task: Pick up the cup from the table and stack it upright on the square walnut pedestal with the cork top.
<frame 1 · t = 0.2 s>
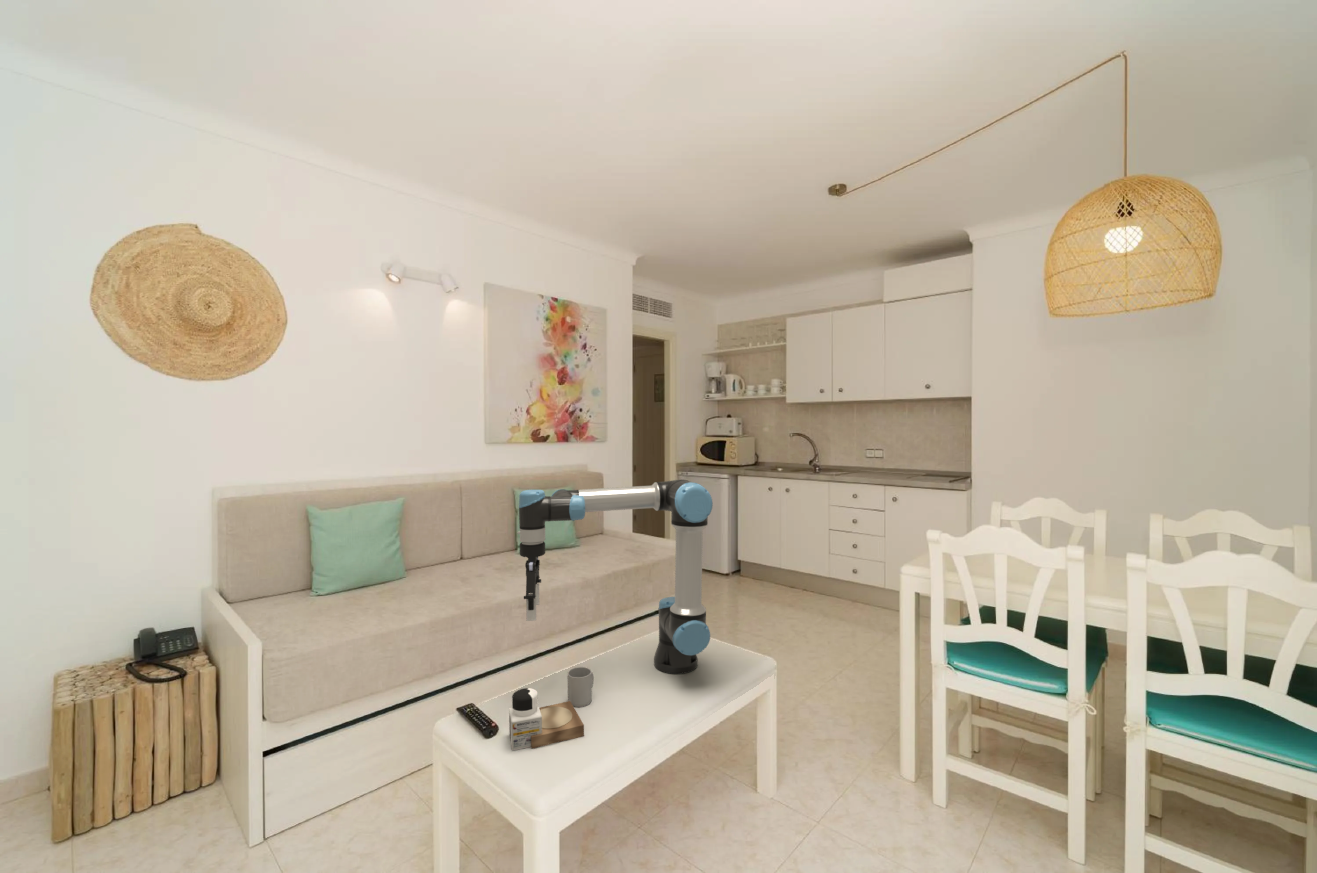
hand: (533, 612, 167), 27 cm above the table, fingers open, 13 cm apart
container: (525, 741, 147), on the table, touching pedestal
pedestal: (552, 728, 153), on the table
cup: (582, 700, 169), on the table
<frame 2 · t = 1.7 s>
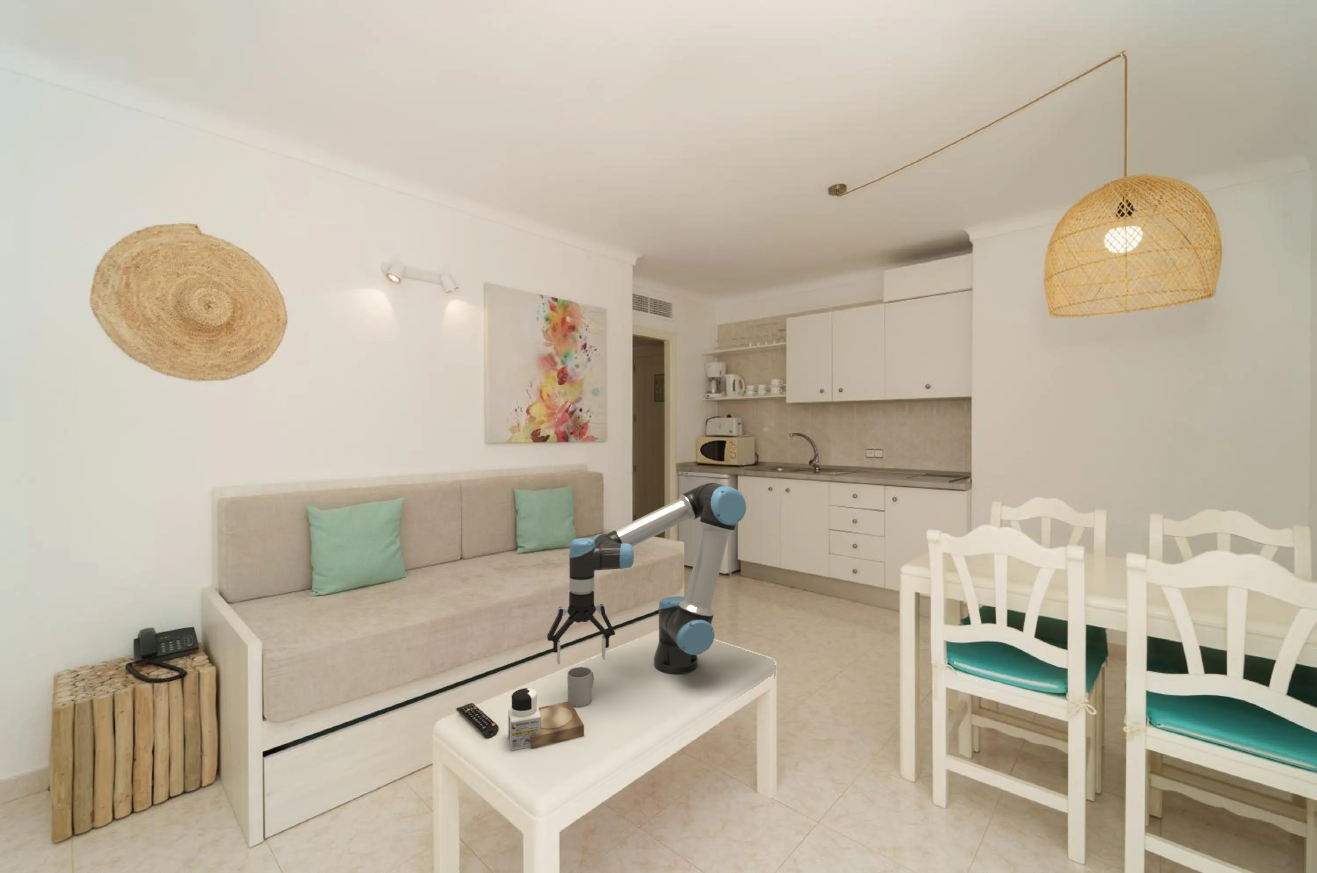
hand: (581, 660, 168), 12 cm above the table, fingers open, 13 cm apart
nothing on the table moved.
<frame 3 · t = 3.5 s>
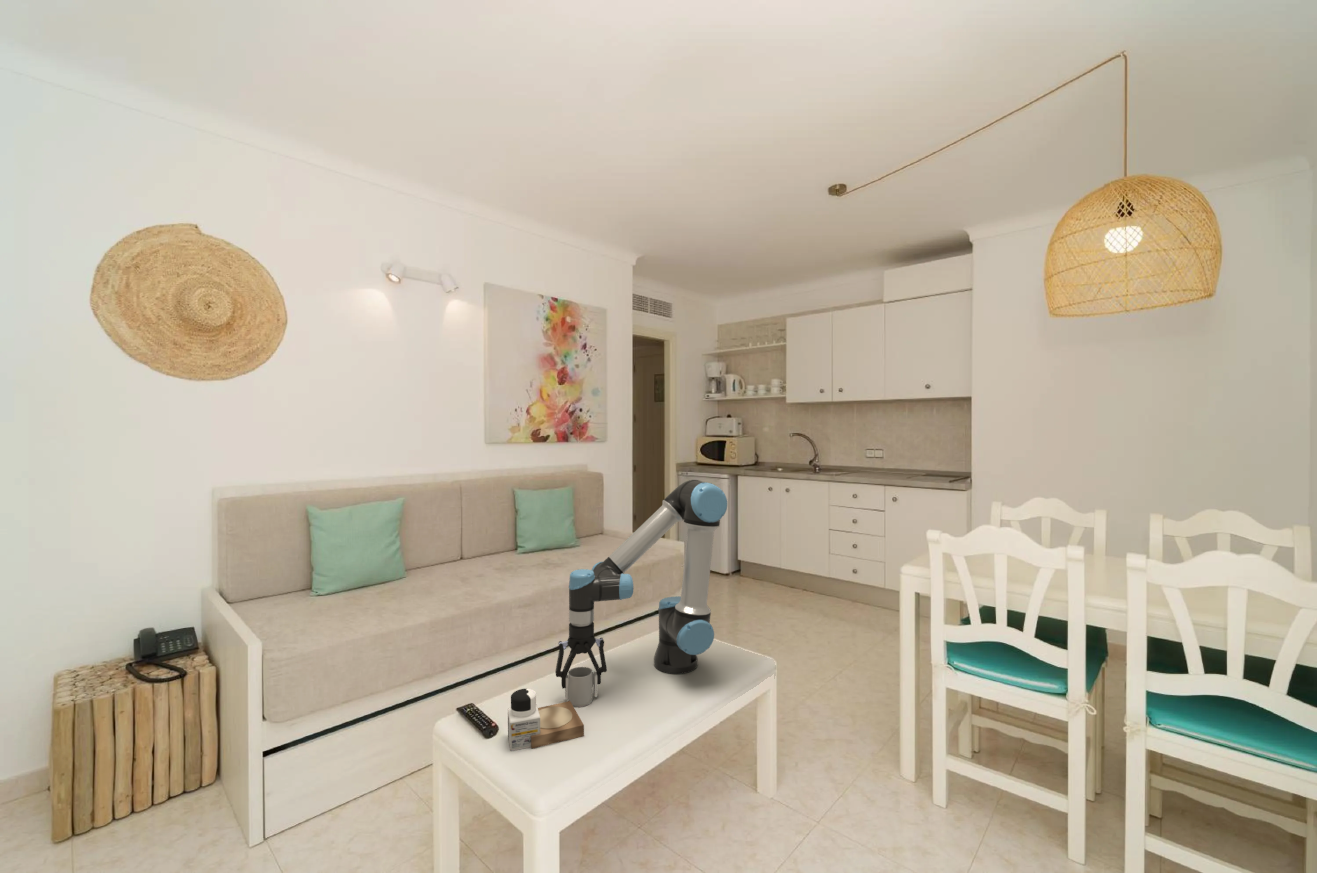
hand: (581, 696, 169), 1 cm above the table, fingers closed on cup, 8 cm apart
cup: (583, 700, 169), on the table, touching gripper
everything else where it was.
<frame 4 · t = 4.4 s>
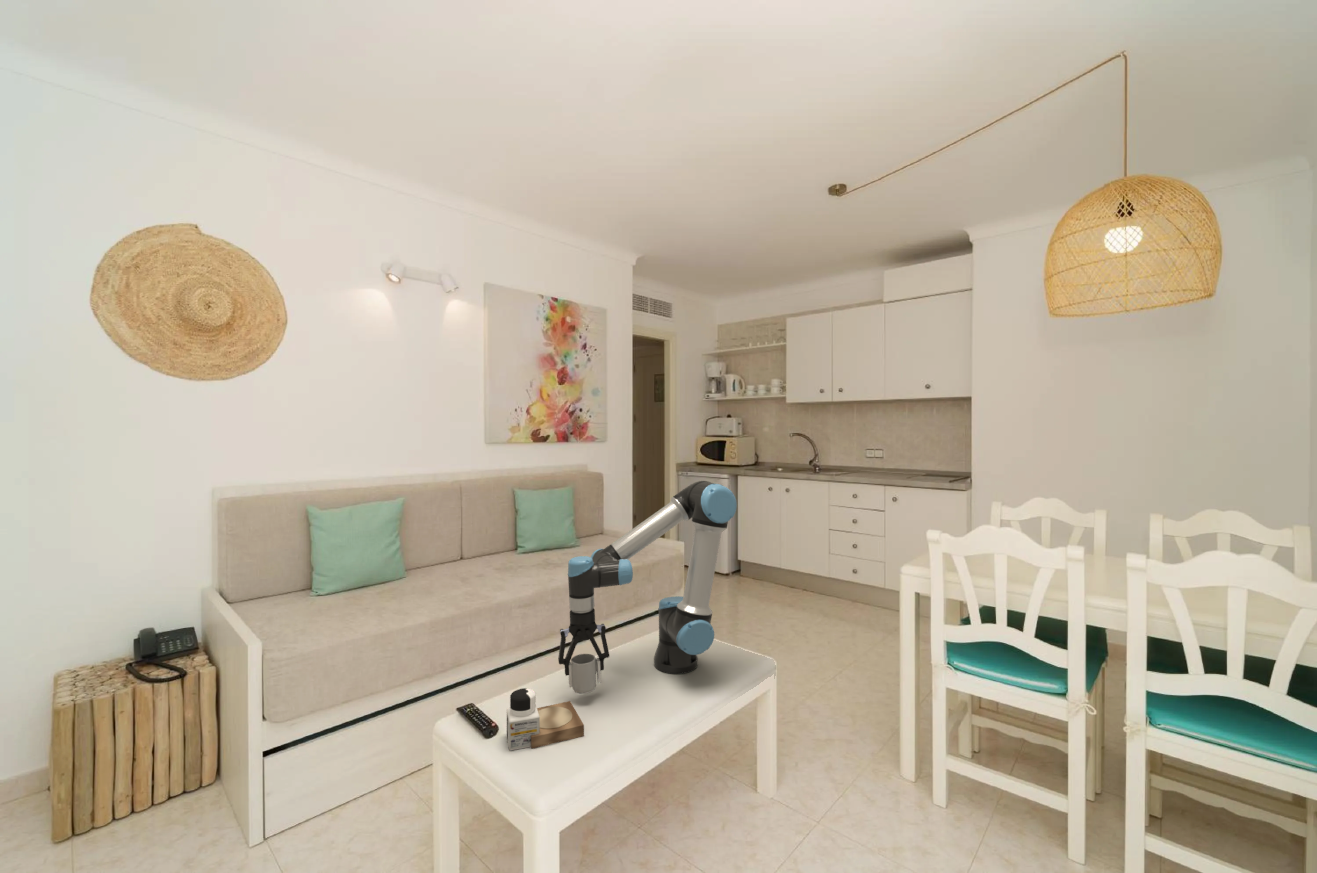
hand: (584, 682, 169), 5 cm above the table, fingers closed on cup, 8 cm apart
cup: (587, 686, 169), point 4 cm above the table, touching gripper
everything else where it was.
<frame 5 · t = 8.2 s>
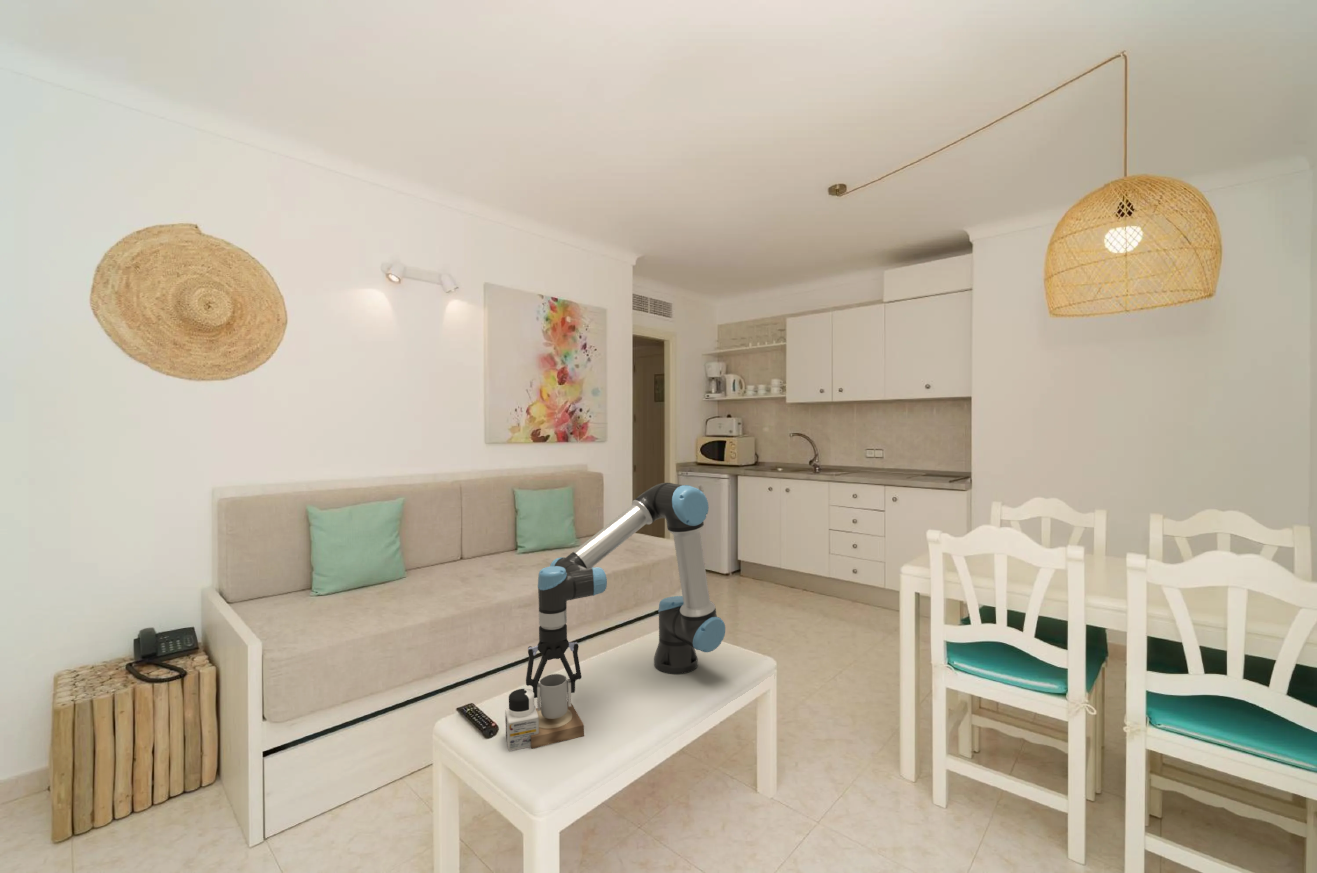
hand: (554, 706, 153), 6 cm above the table, fingers closed on cup, 8 cm apart
cup: (557, 710, 153), point 5 cm above the table, touching gripper
everything else where it was.
when the fingers open (6 cm above the table, at t = 9.1 s): cup moves 1 cm, resting on pedestal.
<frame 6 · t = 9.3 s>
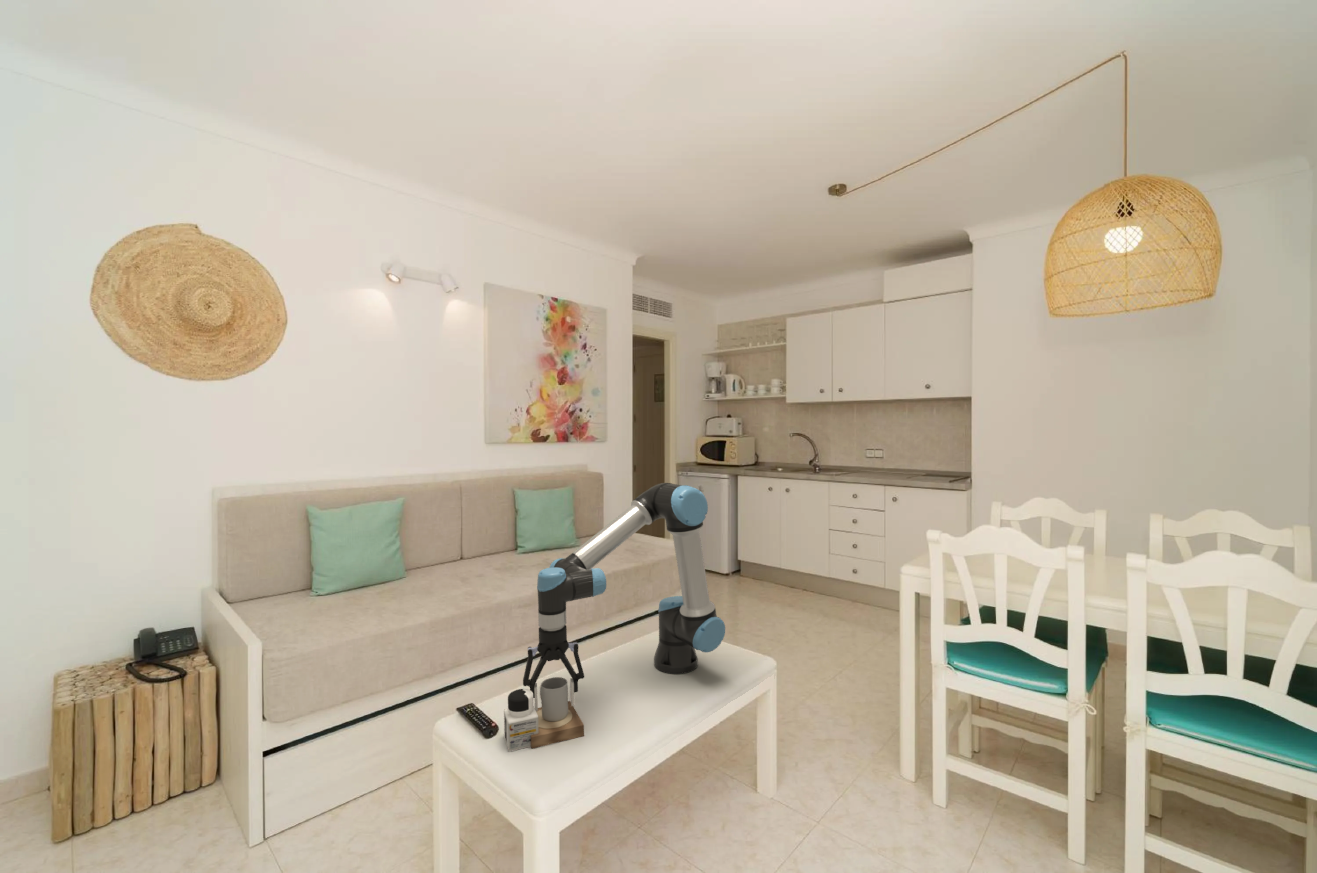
hand: (554, 706, 153), 6 cm above the table, fingers open, 9 cm apart
cup: (552, 713, 154), point 3 cm above the table, touching pedestal
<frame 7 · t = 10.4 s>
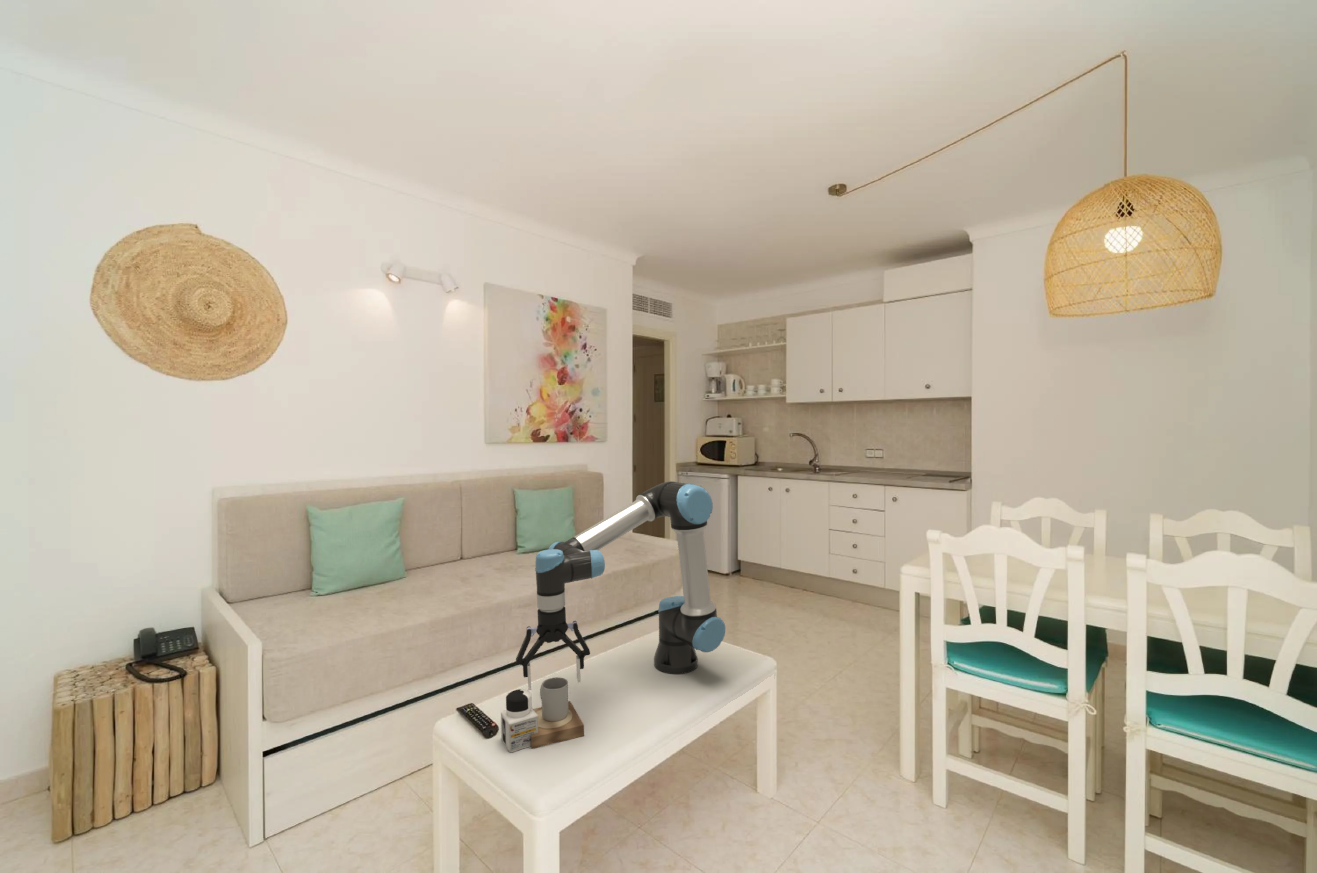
hand: (554, 684, 153), 12 cm above the table, fingers open, 13 cm apart
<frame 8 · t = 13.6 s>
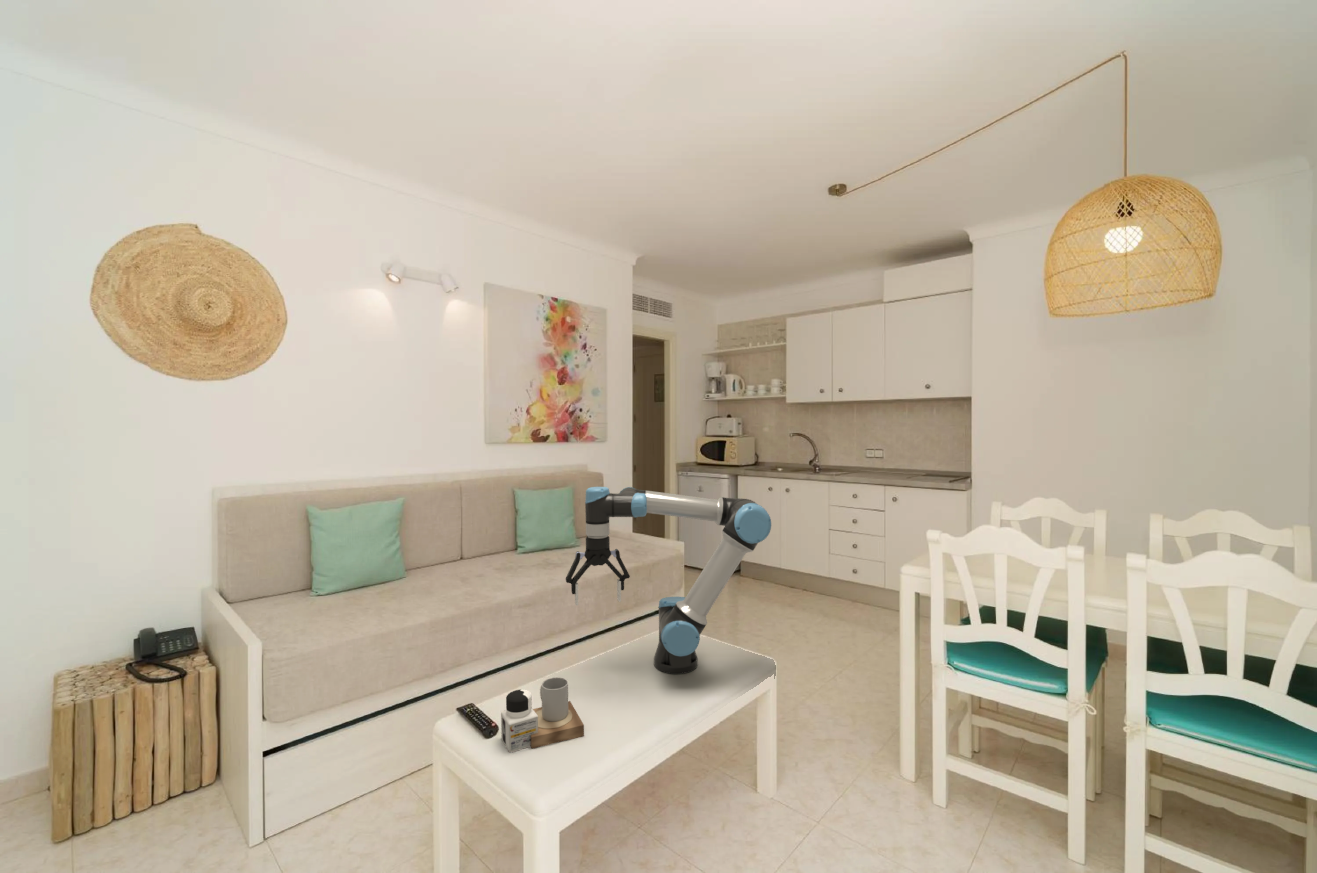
hand: (598, 602, 177), 27 cm above the table, fingers open, 13 cm apart
at the end: cup inside the target area on the pedestal (1.9 cm from its centre), point 3.1 cm above the pedestal's base; cup tilted 0°; cup touching pedestal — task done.
